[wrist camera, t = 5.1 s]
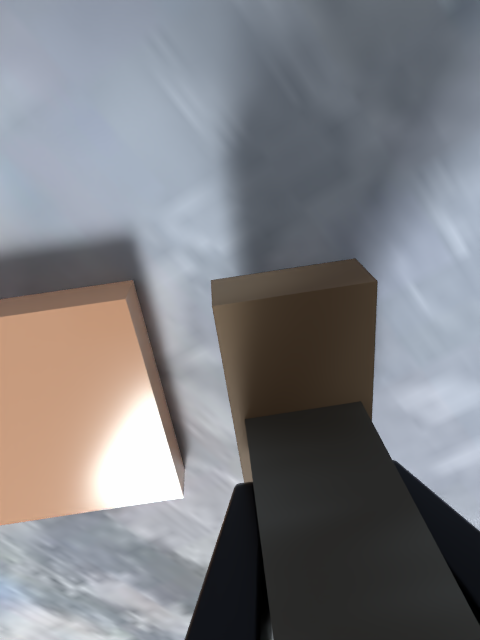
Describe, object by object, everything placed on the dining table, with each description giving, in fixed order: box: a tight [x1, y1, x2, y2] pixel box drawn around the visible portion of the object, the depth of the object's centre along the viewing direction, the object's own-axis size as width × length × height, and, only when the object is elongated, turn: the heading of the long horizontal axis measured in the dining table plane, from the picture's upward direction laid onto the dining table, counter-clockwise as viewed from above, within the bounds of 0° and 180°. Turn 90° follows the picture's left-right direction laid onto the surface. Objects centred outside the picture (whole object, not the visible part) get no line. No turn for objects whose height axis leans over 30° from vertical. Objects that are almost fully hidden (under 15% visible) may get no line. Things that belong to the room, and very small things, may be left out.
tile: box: [0, 280, 185, 525], centre depth 12 cm, size 7×7×2 cm
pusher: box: [211, 259, 480, 640], centre depth 7 cm, size 3×8×6 cm, turn 7°
